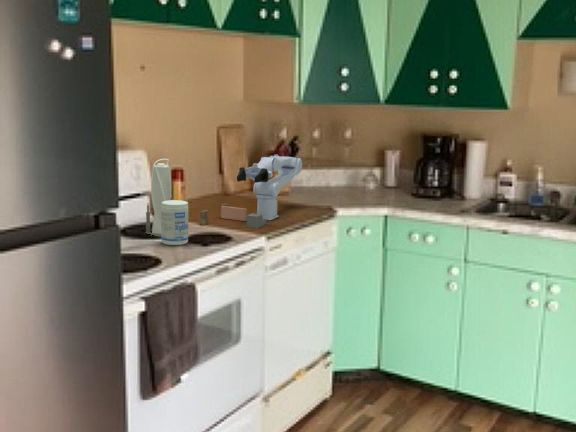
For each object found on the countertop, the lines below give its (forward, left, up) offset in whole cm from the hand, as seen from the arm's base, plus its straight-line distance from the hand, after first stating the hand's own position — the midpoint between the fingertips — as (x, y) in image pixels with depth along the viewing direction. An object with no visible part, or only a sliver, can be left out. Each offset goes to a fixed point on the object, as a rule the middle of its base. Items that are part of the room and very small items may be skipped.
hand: (246, 179), depth 260 cm
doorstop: (-5, +2, -19) cm, 20 cm away
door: (-10, -11, -19) cm, 24 cm away
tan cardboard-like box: (-4, -17, -19) cm, 26 cm away
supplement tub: (+35, -11, -19) cm, 41 cm away
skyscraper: (+26, -23, -19) cm, 40 cm away
